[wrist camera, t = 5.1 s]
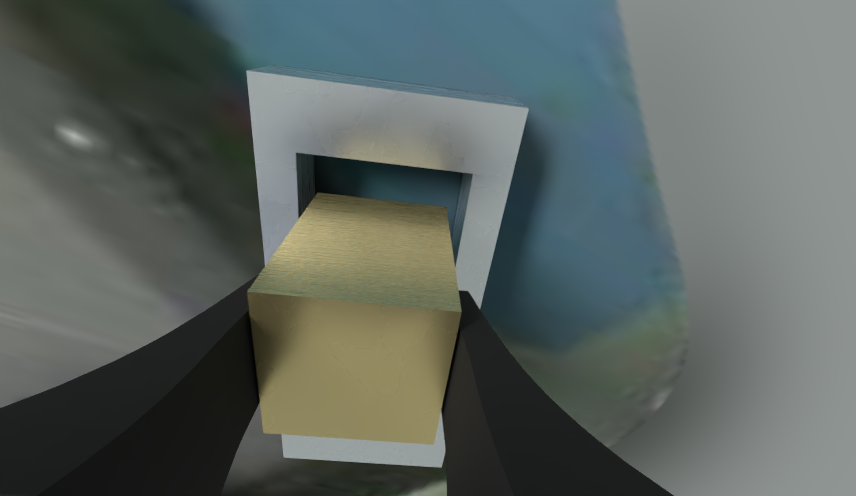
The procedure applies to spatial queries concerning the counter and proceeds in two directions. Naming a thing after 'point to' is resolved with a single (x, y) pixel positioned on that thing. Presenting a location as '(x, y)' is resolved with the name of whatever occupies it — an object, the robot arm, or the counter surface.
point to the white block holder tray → (394, 144)
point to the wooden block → (357, 322)
